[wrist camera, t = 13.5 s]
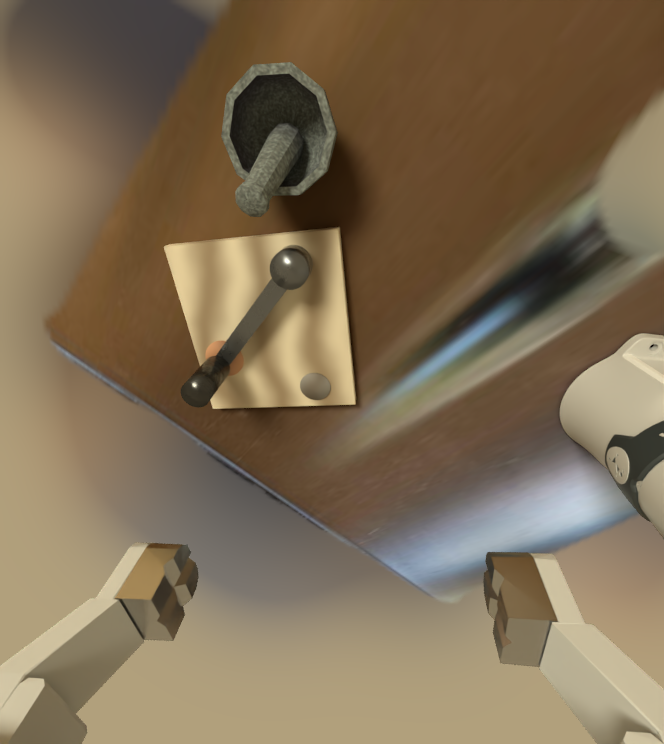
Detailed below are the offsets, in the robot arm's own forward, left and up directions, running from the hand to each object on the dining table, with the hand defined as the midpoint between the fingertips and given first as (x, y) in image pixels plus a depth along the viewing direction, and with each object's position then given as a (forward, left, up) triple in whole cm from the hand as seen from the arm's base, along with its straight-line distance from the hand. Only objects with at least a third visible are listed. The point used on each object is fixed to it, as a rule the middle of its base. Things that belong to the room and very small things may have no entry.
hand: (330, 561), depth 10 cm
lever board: (+13, +7, -37) cm, 40 cm away
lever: (+14, +5, -35) cm, 37 cm away
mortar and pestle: (+7, -12, -37) cm, 40 cm away
